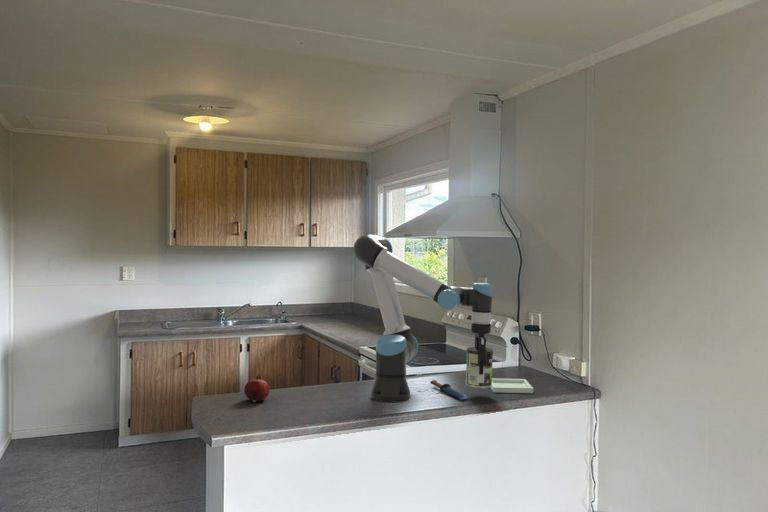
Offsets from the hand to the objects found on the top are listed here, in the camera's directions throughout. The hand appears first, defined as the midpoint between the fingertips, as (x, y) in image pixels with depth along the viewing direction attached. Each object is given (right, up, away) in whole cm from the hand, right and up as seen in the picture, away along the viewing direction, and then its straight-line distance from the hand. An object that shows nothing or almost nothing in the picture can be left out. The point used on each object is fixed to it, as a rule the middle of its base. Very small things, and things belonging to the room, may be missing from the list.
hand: (478, 379), depth 226 cm
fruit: (-85, -6, -9) cm, 86 cm away
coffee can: (0, -3, 0) cm, 3 cm away
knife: (-11, -7, +5) cm, 14 cm away
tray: (+15, -7, +14) cm, 22 cm away
